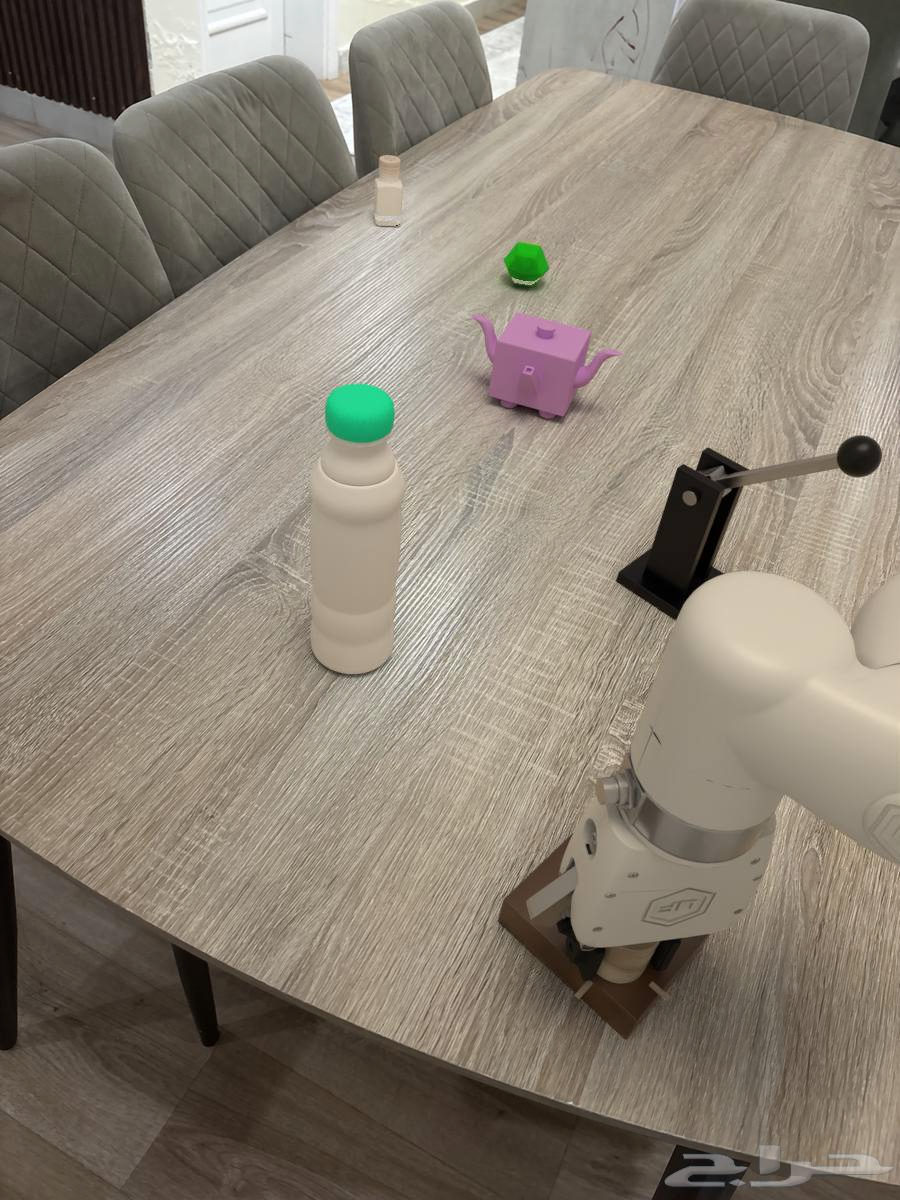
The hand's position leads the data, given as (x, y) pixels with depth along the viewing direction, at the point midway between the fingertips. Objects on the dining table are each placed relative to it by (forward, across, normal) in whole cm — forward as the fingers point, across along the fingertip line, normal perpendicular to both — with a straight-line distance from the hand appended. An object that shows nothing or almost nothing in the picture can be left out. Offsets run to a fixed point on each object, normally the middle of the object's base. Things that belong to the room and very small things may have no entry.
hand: (617, 952), depth 60 cm
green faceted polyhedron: (+4, +18, +101) cm, 103 cm away
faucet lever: (-12, +22, +31) cm, 40 cm away
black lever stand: (+3, +18, +36) cm, 41 cm away
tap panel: (+3, 0, +3) cm, 4 cm away
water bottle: (+4, -14, +31) cm, 34 cm away
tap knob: (0, 0, 0) cm, 0 cm away
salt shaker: (+4, +1, +120) cm, 121 cm away
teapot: (+4, +12, +69) cm, 70 cm away
